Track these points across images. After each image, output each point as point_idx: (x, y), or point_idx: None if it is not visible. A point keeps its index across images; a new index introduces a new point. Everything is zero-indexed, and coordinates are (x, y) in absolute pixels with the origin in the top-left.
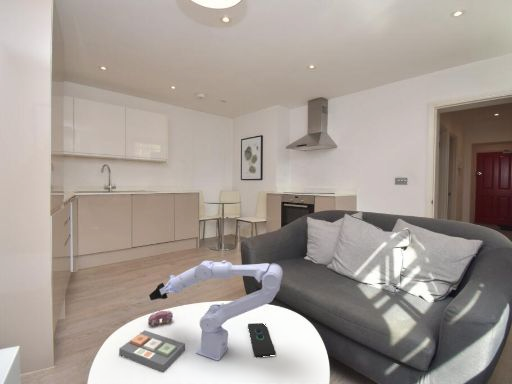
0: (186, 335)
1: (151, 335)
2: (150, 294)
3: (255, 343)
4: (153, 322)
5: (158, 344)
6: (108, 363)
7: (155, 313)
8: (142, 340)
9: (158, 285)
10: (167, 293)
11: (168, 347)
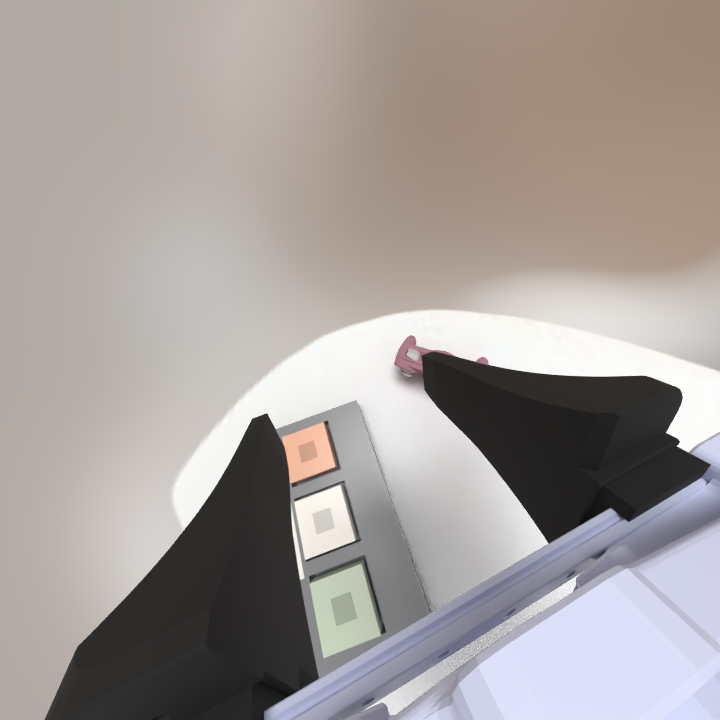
0: (485, 521)
1: (356, 448)
2: (247, 432)
3: None
4: (404, 375)
5: (333, 547)
6: (224, 456)
7: (420, 351)
8: (307, 468)
9: (62, 680)
10: (448, 417)
11: (349, 613)
